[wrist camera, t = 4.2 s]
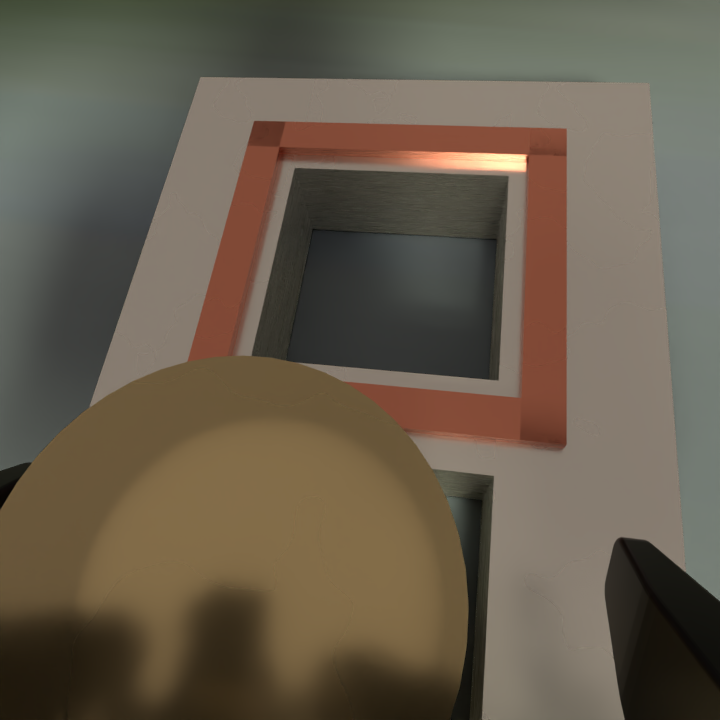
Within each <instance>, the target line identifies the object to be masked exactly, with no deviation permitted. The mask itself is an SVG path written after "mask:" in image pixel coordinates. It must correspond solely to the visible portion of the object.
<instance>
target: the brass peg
mask: <svg viewBox="0 0 720 720" xmlns="http://www.w3.org/2000/svg"><path fill="white" fill-rule="evenodd" d="M468 610H469V606H468V592H467V578H466V568H465V563H464V558H463V553H462V548H461V543H460V538H459V533H458V530H457V527H456V524H455V521H454V518H453V515H452V512H451V509H450V506H449V503H448V501H447V499H446V496H445V494H444V492H443V490H442V488H441V486H440V484H439V482H438V480H437V478H436V476H435V474H434V472H433V470H432V468H431V467H430V465H429V464H428V462H427V461H426V459H425V458H424V456H423V455H422V453H421V452H420V450H419V448H418V447H417V445H416V444H415V443H414V442H413V440H412V439H411V438H410V437H409V436H408V435H407V433H406V432H405V431H404V430H403V429H402V428H401V426H400V425H399V424H398V423H397V422H396V421H395V420H394V419H393V418H392V417H391V416H390V415H389V414H387V413H386V412H385V411H384V410H383V409H382V408H381V407H380V406H378V405H377V404H376V403H375V402H374V401H373V400H371V399H370V398H368V397H367V396H365V395H364V394H362V393H361V392H359V391H358V390H356V389H355V388H353V387H352V386H351V385H349V384H347V383H345V382H343V381H341V380H339V379H337V378H335V377H333V376H331V375H329V374H327V373H325V372H322V371H319V370H316V369H313V368H311V367H308V366H305V365H302V364H299V363H295V362H290V361H285V360H280V359H275V358H269V357H256V356H223V357H212V358H206V359H200V360H194V361H188V362H184V363H181V364H178V365H174V366H171V367H167V368H164V369H160V370H158V371H156V372H153V373H151V374H148V375H146V376H144V377H141V378H139V379H137V380H134V381H132V382H130V383H129V384H127V385H125V386H123V387H121V388H120V389H118V390H116V391H114V392H112V393H110V394H109V395H107V396H106V397H104V398H103V399H101V400H100V401H98V402H97V403H96V404H94V405H93V406H91V407H90V408H88V409H87V410H86V411H84V412H83V413H82V414H80V415H79V416H78V417H77V418H76V419H75V420H73V421H72V422H71V423H70V424H69V425H68V426H67V427H65V428H64V429H63V430H62V431H61V432H60V433H59V434H58V435H57V436H56V437H55V438H54V439H53V440H52V441H51V442H50V443H49V444H48V445H47V446H46V447H45V448H44V450H43V451H42V452H41V453H40V454H39V455H38V456H37V457H36V458H35V460H34V461H33V462H32V464H31V465H30V466H29V468H28V469H27V470H26V471H25V473H24V474H23V475H22V477H21V478H20V479H19V481H18V482H17V483H16V485H15V487H14V488H13V490H12V492H11V493H10V495H9V496H8V498H7V500H6V501H5V503H4V504H3V506H2V508H1V509H0V720H450V718H451V714H452V711H453V708H454V704H455V701H456V698H457V695H458V691H459V688H460V683H461V677H462V671H463V665H464V660H465V654H466V648H467V631H468Z"/></svg>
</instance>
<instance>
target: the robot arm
mask: <svg viewBox="0 0 720 720" xmlns="http://www.w3.org/2000/svg"><path fill="white" fill-rule="evenodd" d="M31 464H32V463H23V464H20V465H17V466H14V467H11V468H8V469H5V470H2V471H0V509H1V508H2V506H3V504H4V503H5V501H6V500H7V498H8V496H9V495H10V493H11V492H12V490H13V488H14V487H15V485H16V483H17V482H18V481H19V479H20V478H21V477H22V475H23V474H24V473H25V471H26V470H27V469H28V468H29V466H30V465H31ZM604 592H605V603H606V609H607V616H608V623H609V630H610V636H611V643H612V650H613V657H614V663H615V670H616V677H617V684H618V690H619V696H620V701H621V706H622V710H623V714H624V718H625V720H720V601H719V600H718V599H716V598H715V597H714V596H713V595H712V594H711V593H709V592H708V591H707V590H706V589H705V588H703V587H702V586H701V585H700V584H699V583H698V582H696V581H695V580H694V579H693V578H692V577H691V576H689V575H688V574H687V573H686V572H685V571H683V570H682V569H681V568H680V567H679V566H678V565H676V564H675V563H674V562H673V561H672V560H670V559H669V558H668V557H667V556H666V555H665V554H663V553H662V552H661V551H660V550H659V549H658V548H656V547H655V546H654V545H653V544H652V543H650V542H649V541H647V540H643V539H635V538H627V537H619V538H618V539H616V541H615V543H614V546H613V549H612V554H611V558H610V562H609V567H608V571H607V575H606V580H605V590H604Z"/></svg>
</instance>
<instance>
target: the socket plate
mask: <svg viewBox="0 0 720 720" xmlns="http://www.w3.org/2000/svg"><path fill="white" fill-rule="evenodd" d="M313 229H318V230H336V231H355V232H374V233H392V234H411V235H430V236H448V237H467V238H486V239H497V245H496V263H495V281H494V298H493V316H492V334H491V351H490V369H489V380H486V379H475V378H463V377H452V376H441V375H430V374H419V373H408V372H396V371H385V370H374V369H363V368H352V367H340V366H329V365H318V364H307V363H299V364H302V365H305V366H308V367H311V368H313V369H316V370H319V371H322V372H325V373H327V374H329V375H331V376H333V377H335V378H337V379H339V380H341V381H343V382H345V383H347V384H349V385H351V386H352V387H353V388H355V389H356V390H358V391H359V392H361V393H362V394H364V395H365V396H367V397H368V398H370V399H371V400H373V401H374V402H375V403H376V404H377V405H378V406H380V407H381V408H382V409H383V410H384V411H385V412H386V413H387V414H389V415H390V416H391V417H392V418H393V419H394V420H395V421H396V422H397V423H398V424H399V425H400V426H401V428H402V429H403V430H404V431H405V432H406V433H407V435H408V436H409V437H410V438H411V439H412V440H413V442H414V443H415V444H416V445H417V447H418V448H419V450H420V452H421V453H422V455H423V456H424V458H425V459H426V461H427V462H428V464H429V465H430V467H431V468H432V470H433V472H434V474H435V476H436V478H437V480H438V482H439V484H440V486H441V488H442V490H443V492H444V494H445V496H453V497H461V498H470V499H478V500H482V511H481V529H480V546H479V564H478V582H477V599H476V617H475V635H474V653H473V670H472V688H471V706H470V720H625V718H624V714H623V710H622V706H621V701H620V696H619V690H618V684H617V677H616V670H615V663H614V657H613V650H612V643H611V636H610V630H609V623H608V616H607V609H606V603H605V592H604V590H605V580H606V575H607V571H608V567H609V562H610V558H611V554H612V549H613V546H614V543H615V541H616V539H618V538H619V537H627V538H635V539H643V540H647V541H649V542H650V543H652V544H653V545H654V546H655V547H656V548H658V549H659V550H660V551H661V552H662V553H663V554H665V555H666V556H667V557H668V558H669V559H670V560H672V561H673V562H674V563H675V564H676V565H678V566H679V567H680V568H681V569H682V570H683V571H685V572H686V569H685V555H684V542H683V528H682V515H681V502H680V488H679V475H678V462H677V448H676V435H675V422H674V408H673V395H672V382H671V368H670V355H669V342H668V328H667V315H666V302H665V288H664V275H663V262H662V248H661V235H660V222H659V208H658V195H657V182H656V168H655V155H654V142H653V128H652V115H651V102H650V88H649V83H601V82H527V81H453V80H379V79H305V78H231V77H201V78H200V81H199V84H198V86H197V89H196V92H195V95H194V98H193V101H192V104H191V107H190V110H189V113H188V116H187V119H186V122H185V125H184V128H183V131H182V134H181V137H180V140H179V143H178V146H177V149H176V152H175V155H174V158H173V161H172V164H171V166H170V169H169V172H168V175H167V178H166V181H165V184H164V187H163V190H162V193H161V196H160V199H159V202H158V205H157V208H156V211H155V214H154V217H153V220H152V223H151V226H150V229H149V232H148V235H147V238H146V241H145V244H144V246H143V249H142V252H141V255H140V258H139V261H138V264H137V267H136V270H135V273H134V276H133V279H132V282H131V285H130V288H129V291H128V294H127V297H126V300H125V303H124V306H123V309H122V312H121V315H120V318H119V321H118V323H117V326H116V329H115V332H114V335H113V338H112V341H111V344H110V347H109V350H108V353H107V356H106V359H105V362H104V365H103V368H102V371H101V374H100V377H99V380H98V383H97V386H96V389H95V392H94V395H93V398H92V401H91V403H90V406H89V408H90V407H91V406H93V405H94V404H96V403H97V402H98V401H100V400H101V399H103V398H104V397H106V396H107V395H109V394H110V393H112V392H114V391H116V390H118V389H120V388H121V387H123V386H125V385H127V384H129V383H130V382H132V381H134V380H137V379H139V378H141V377H144V376H146V375H148V374H151V373H153V372H156V371H158V370H160V369H164V368H167V367H171V366H174V365H178V364H181V363H184V362H188V361H194V360H200V359H206V358H212V357H223V356H256V357H269V358H275V359H280V360H285V361H286V357H287V352H288V347H289V342H290V337H291V333H292V328H293V323H294V318H295V313H296V308H297V303H298V299H299V294H300V289H301V284H302V279H303V274H304V269H305V264H306V260H307V255H308V250H309V245H310V240H311V235H312V230H313ZM295 363H296V362H295Z"/></svg>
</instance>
